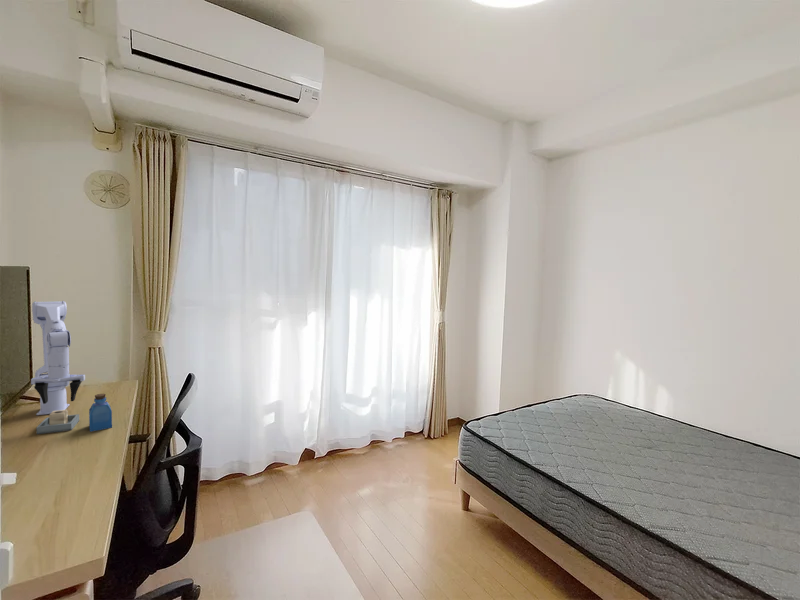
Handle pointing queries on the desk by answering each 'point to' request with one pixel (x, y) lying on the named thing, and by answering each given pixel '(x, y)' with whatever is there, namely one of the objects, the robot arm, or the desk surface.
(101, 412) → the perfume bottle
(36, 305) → the robot arm
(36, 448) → the desk surface
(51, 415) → the bored block
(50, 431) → the tray
